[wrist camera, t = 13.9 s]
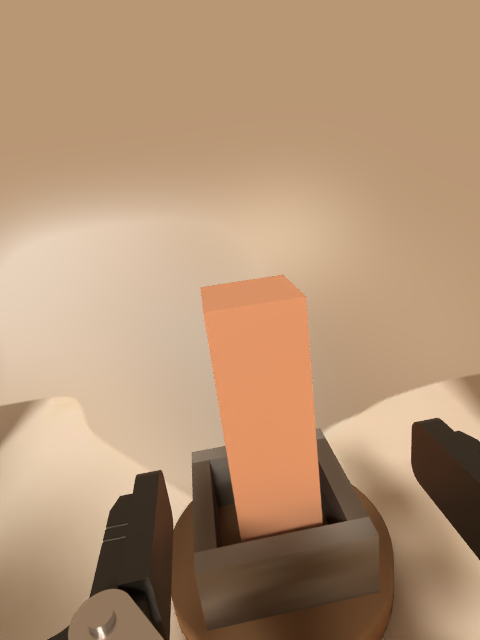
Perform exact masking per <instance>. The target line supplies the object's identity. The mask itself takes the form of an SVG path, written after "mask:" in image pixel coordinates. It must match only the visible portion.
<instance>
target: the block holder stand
mask: <svg viewBox="0 0 480 640" xmlns="http://www.w3.org/2000/svg"><path fill="white" fill-rule="evenodd" d="M316 440H317V454H318V467H319V481H320V494H321V508H322V522H323V526H321V527H316V528H311V529H306V530H302V531H297V532H292V533H287V534H282V535H278V536H273V537H268V538H263V539H258V540H254V541H249V542H244V543H241V536H240V530H239V524H238V518H237V512H236V506H235V500H234V494H233V488H232V482H231V476H230V470H229V464H228V458H227V452H226V446H223V447H218V448H213V449H207V450H202V451H197V452H192V481H193V482H192V486H193V501H192V502H191V503H190V504H189V505H188V507H187V508H186V509H185V511H184V512H183V513H182V515H181V517H180V518H179V520H178V522H177V523H176V526H175V528H174V530H173V556H172V584H171V597H172V601H173V604H174V608H175V612H176V616H177V619H178V622H179V625H180V628H181V630H182V632H183V634H184V636H185V638H186V640H381V638H382V636H383V634H384V632H385V630H386V628H387V625H388V622H389V618H390V615H391V611H392V604H393V597H394V559H393V548H392V543H391V538H390V535H389V532H388V529H387V527H386V525H385V523H384V521H383V519H382V517H381V515H380V514H379V512H378V511H377V509H376V508H375V506H374V505H373V504H372V503H371V502H370V500H369V499H368V498H367V497H366V496H365V495H364V494H363V493H362V492H360V491H359V490H358V489H357V488H356V487H354V486H353V485H352V484H351V483H350V482H349V480H348V478H347V476H346V474H345V473H344V471H343V469H342V467H341V465H340V464H339V462H338V460H337V458H336V456H335V455H334V453H333V451H332V449H331V447H330V445H329V444H328V442H327V440H326V438H325V436H324V435H323V433H322V431H321V429H320V428H319V429H316Z"/></svg>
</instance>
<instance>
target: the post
mask: <svg viewBox="0 0 480 640" xmlns="http://www.w3.org/2000/svg"><path fill="white" fill-rule="evenodd" d="M201 296H202V304H203V313H204V319H205V325H206V331H207V337H208V342H209V349H210V355H211V361H212V367H213V373H214V379H215V385H216V391H217V397H218V403H219V409H220V415H221V422H222V428H223V434H224V440H225V446H226V452H227V458H228V464H229V470H230V476H231V482H232V488H233V494H234V500H235V506H236V512H237V518H238V524H239V530H240V536H241V543H244V542H249V541H254V540H258V539H263V538H268V537H273V536H278V535H282V534H287V533H292V532H297V531H302V530H306V529H311V528H316V527H321V526H323V522H322V508H321V494H320V481H319V467H318V454H317V440H316V426H315V413H314V399H313V386H312V372H311V359H310V345H309V331H308V318H307V304H306V296H305V295H304V294H303V293H302V292H301V291H300V290H299V289H297V288H296V287H295V286H294V285H293V284H292V283H291V282H290V281H289V280H288V279H287V278H286V277H285V276H284V275H278V276H272V277H266V278H259V279H252V280H246V281H239V282H232V283H227V284H220V285H213V286H207V287H201Z"/></svg>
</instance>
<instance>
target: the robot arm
mask: <svg viewBox="0 0 480 640" xmlns="http://www.w3.org/2000/svg"><path fill="white" fill-rule="evenodd" d="M411 464H412V469H413V472H414V475H415V477H416V479H417V481H418V482H419V484H420V485H421V486H422V487H423V489H424V490H425V491H426V493H427V494H428V495H429V496H430V498H431V499H432V500H433V501H434V503H435V504H436V505H437V506H438V508H439V509H440V510H441V512H442V513H443V514H444V515H445V517H446V518H447V519H448V520H449V522H450V523H451V524H452V526H453V527H454V528H455V529H456V531H457V532H458V533H459V534H460V536H461V537H462V538H463V539H464V541H465V542H466V543H467V545H468V546H469V547H470V548H471V550H472V551H473V552H474V553H475V555H476V556H477V557H478V558H479V560H480V442H479V441H478V440H477V439H475V438H473V437H471V436H469V435H467V434H465V433H463V432H461V431H456V432H454V431H453V430H452V429H451V428H450V427H449V426H448V425H447V424H446V423H444V422H443V421H442V420H441V419H439V418H434V419H429V420H424V421H419V422H415V423H413V425H412V447H411ZM172 556H173V517H172V511H171V506H170V502H169V497H168V493H167V489H166V485H165V480H164V476H163V473H162V471H161V470H158V471H153V472H148V473H143V474H137V475H136V478H135V484H134V489H133V494H128V495H123V496H120V497H119V498H118V500H117V501H116V503H115V504H114V506H113V507H112V509H111V510H110V513H109V517H108V521H107V525H106V530H105V534H104V538H103V543H102V547H101V551H100V555H99V560H98V564H97V568H96V572H95V577H94V581H93V585H92V589H91V594H90V597H89V599H88V600H87V601H85V602H84V603H83V604H82V605H81V607H80V608H79V609H78V610H77V612H76V613H75V615H74V617H73V618H72V621H71V623H70V625H69V626H68V627H67V628H66V629H64V630H63V631H62V632H60V633H58V634H57V635H55V636H53V637H51V638H50V639H48V640H170V612H171V584H172Z"/></svg>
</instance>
